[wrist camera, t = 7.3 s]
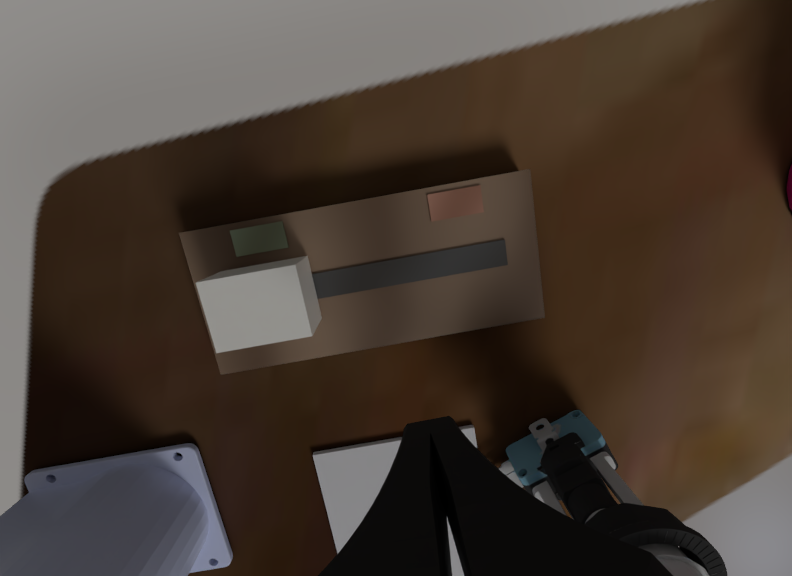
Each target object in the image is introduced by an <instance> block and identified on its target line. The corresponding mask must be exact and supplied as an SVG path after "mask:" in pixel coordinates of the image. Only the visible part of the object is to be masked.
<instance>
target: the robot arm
mask: <svg viewBox="0 0 792 576" xmlns="http://www.w3.org/2000/svg"><path fill="white" fill-rule="evenodd" d="M176 452H177V453H180V454H181V455H182V456H179V455H177V453H176ZM54 476H55V477H56V478H55V477H54ZM24 481H25V484H26V487H27V489H28V491H29V493H28V494H27V495H25V496H24V497H23V498H22V499H21V500H19V501H18V502H17V503H16V504H14V505H13V506H12V507H11V508H10V509H8V510H7V511H6V512H5V513H4V514H2V515H1V516H0V576H188V574H189V573H192V572H198V571H204V570H210V569H216V568H222V567H226V566H228V565H229V564H230V563H231V560H232V558H233V553H232V550H231V547H230V544H229V541H228V538H227V535H226V532H225V529H224V526H223V523H222V520H221V517H220V513H219V510H218V507H217V504H216V501H215V498H214V495H213V492H212V489H211V486H210V483H209V480H208V477H207V474H206V470H205V467H204V464H203V461H202V458H201V455H200V452H199V449H198V448H197V446H196V445H194V444H192V443H186V444H180V445H174V446H168V447H163V448H157V449H151V450H145V451H140V452H134V453H128V454H122V455H117V456H111V457H105V458H99V459H94V460H88V461H82V462H76V463H71V464H65V465H59V466H53V467H48V468H42V469H36V470H33V471H31V472H30V473H29V474H27V475H26V476H25V479H24ZM447 518H448V522H449V525H450V529H451V532H452V536H453V539H454V542H455V546H456V549H457V553H458V556H459V559H460V563H461V566H462V570H463V573H464V576H673V575H672V574H671V573H670V572H669V571H668V570H667V569H666V568H665V566H664V565H663V564H662V563H661V562H660V561H659V560H658V559H657V558H656V557H655V556H654V555H653V554H652V553H651V552H649V551H646V550H643V549H641V548H638V547H636V546H633V545H631V544H628V543H626V542H623V541H620V540H618V539H615V538H613V537H610V536H608V535H605V534H603V533H601V532H598V531H596V530H594V529H592V528H590V527H588V526H586V525H584V524H582V523H579V522H577V521H575V520H573V519H572V518H570V517H568V516H566V515H564V514H562V513H561V512H559V511H557V510H555V509H554V508H552V507H550V506H549V505H547V504H545V503H543V502H542V501H540V500H539V499H537V498H536V497H534V496H533V495H531V494H530V493H528V492H527V491H526V490H524V489H523V488H521V487H520V486H519V485H517V484H516V483H515V482H513V481H512V480H511V479H510V478H508V477H507V476H506V475H505V474H504V473H502V472H501V471H500V470H499V469H498V468H497V467H496V466H495V465H493V464H492V463H491V462H490V461H489V460H488V459H487V458H486V457H485V456H484V455H483V454H482V453H481V452H480V451H479V450H478V449H477V448H476V447H475V446H474V445H473V444H472V443H471V442H470V440H469V439H468V438H467V437H466V436H465V435H464V433H463V432H462V431H461V430H460V428H459V427H458V426H457V424H456V423H455V421H454V419H452V418H451V417H450V416H447V417H441V418H436V419H431V420H425V421H420V422H415V423H410V424H407V425H406V426H405V428H404V432H403V436H402V440H401V443H400V446H399V449H398V451H397V454H396V457H395V459H394V461H393V464H392V466H391V469H390V471H389V473H388V475H387V477H386V479H385V481H384V483H383V485H382V487H381V489H380V491H379V493H378V495H377V497H376V499H375V501H374V502H373V504H372V506H371V507H370V509H369V511H368V512H367V514H366V515H365V517H364V519H363V520H362V522H361V523H360V525H359V526H358V527H357V529H356V530H355V532H354V533H353V534H352V536H351V537H350V539H349V540H348V541H347V543H346V544H345V545H344V547H343V548H342V549H341V550H340V552H339V553H338V554H337V555H336V556H335V558H334V559H333V560H332V561H331V562H330V563H329V564H328V566H327V567H326V568H325V569H324V570H323V571H322V572H321V573H320V574H319V575H318V576H452V568H451V557H450V546H449V535H448V524H447ZM215 559H216V560H215Z"/></svg>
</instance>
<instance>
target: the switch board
mask: <svg viewBox="0 0 792 576" xmlns="http://www.w3.org/2000/svg"><path fill="white" fill-rule="evenodd" d="M179 236H180V239H181V242H182V246H183V249H184V252H185V256H186V259H187V262H188V266H189V269H190V273H191V276H192V279H193V283H194V286H195V289H196V293H197V296H198V299H199V303H200V306H201V310H202V313H203V316H204V320H205V323H206V326H207V330H208V333H209V336H210V340H211V343H212V346H213V350H214V353H215V357H216V360H217V363H218V367H219V370H220V373H221V375H223V374H228V373H234V372H239V371H245V370H251V369H256V368H262V367H268V366H273V365H279V364H285V363H290V362H296V361H302V360H307V359H313V358H319V357H324V356H330V355H336V354H341V353H347V352H353V351H358V350H364V349H370V348H375V347H381V346H387V345H392V344H398V343H404V342H409V341H415V340H421V339H426V338H432V337H438V336H443V335H449V334H455V333H460V332H466V331H472V330H477V329H483V328H489V327H494V326H500V325H506V324H511V323H517V322H523V321H528V320H534V319H540V318H545V314H544V304H543V294H542V284H541V274H540V264H539V253H538V243H537V233H536V223H535V213H534V203H533V193H532V183H531V173H530V169H527V170H522V171H516V172H511V173H505V174H500V175H494V176H489V177H483V178H478V179H472V180H467V181H461V182H456V183H450V184H445V185H439V186H434V187H429V188H423V189H418V190H412V191H407V192H401V193H396V194H390V195H385V196H379V197H374V198H368V199H363V200H357V201H352V202H346V203H341V204H335V205H330V206H324V207H319V208H313V209H308V210H303V211H297V212H292V213H286V214H281V215H275V216H270V217H264V218H259V219H253V220H248V221H242V222H237V223H231V224H226V225H220V226H215V227H209V228H204V229H198V230H193V231H187V232H182V233H179ZM303 256H308V260H309V264H310V268H311V273H312V277H313V282H314V286H315V290H316V295H317V299H318V303H319V308H320V312H321V317H322V319H321V321H320V323H319V325H318V326H317V328H316V330H315V332H314V334H313V336H311V337H305V338H300V339H294V340H288V341H283V342H277V343H271V344H266V345H260V346H254V347H249V348H243V349H238V350H232V351H226V352H221V353H216V350H215V347H214V343H213V340H212V337H211V333H210V330H209V327H208V323H207V320H206V316H205V313H204V310H203V306H202V303H201V300H200V296H199V293H198V289H197V286H196V282H198V281H200V280H203V279H205V278H207V277H209V276H212V275H214V274H216V273H218V272H221V271H226V270H231V269H237V268H242V267H248V266H253V265H259V264H264V263H270V262H275V261H281V260H287V259H292V258H298V257H303Z"/></svg>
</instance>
